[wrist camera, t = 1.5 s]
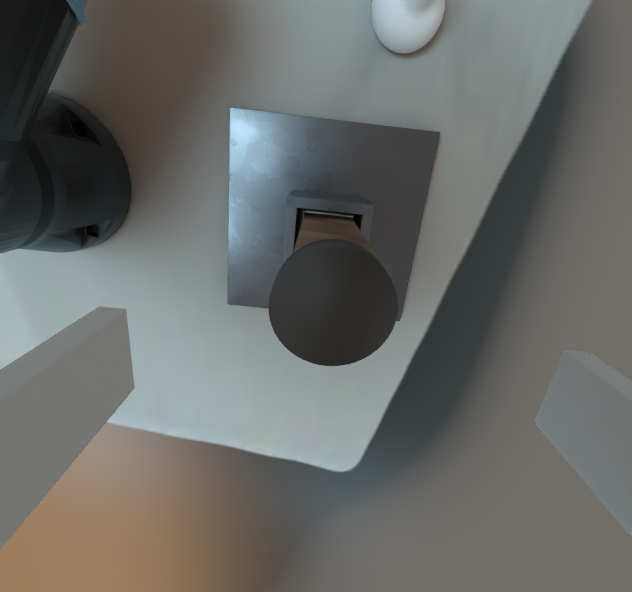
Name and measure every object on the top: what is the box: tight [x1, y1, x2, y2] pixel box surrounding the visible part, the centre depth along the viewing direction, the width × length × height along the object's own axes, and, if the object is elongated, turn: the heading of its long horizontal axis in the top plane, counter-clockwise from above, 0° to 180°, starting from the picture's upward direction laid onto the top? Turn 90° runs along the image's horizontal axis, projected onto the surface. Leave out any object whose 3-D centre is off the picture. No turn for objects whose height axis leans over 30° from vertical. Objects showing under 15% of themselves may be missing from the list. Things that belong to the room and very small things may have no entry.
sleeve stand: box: [228, 108, 440, 321], centre depth 32 cm, size 20×20×10 cm
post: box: [269, 209, 398, 366], centre depth 25 cm, size 6×6×22 cm
